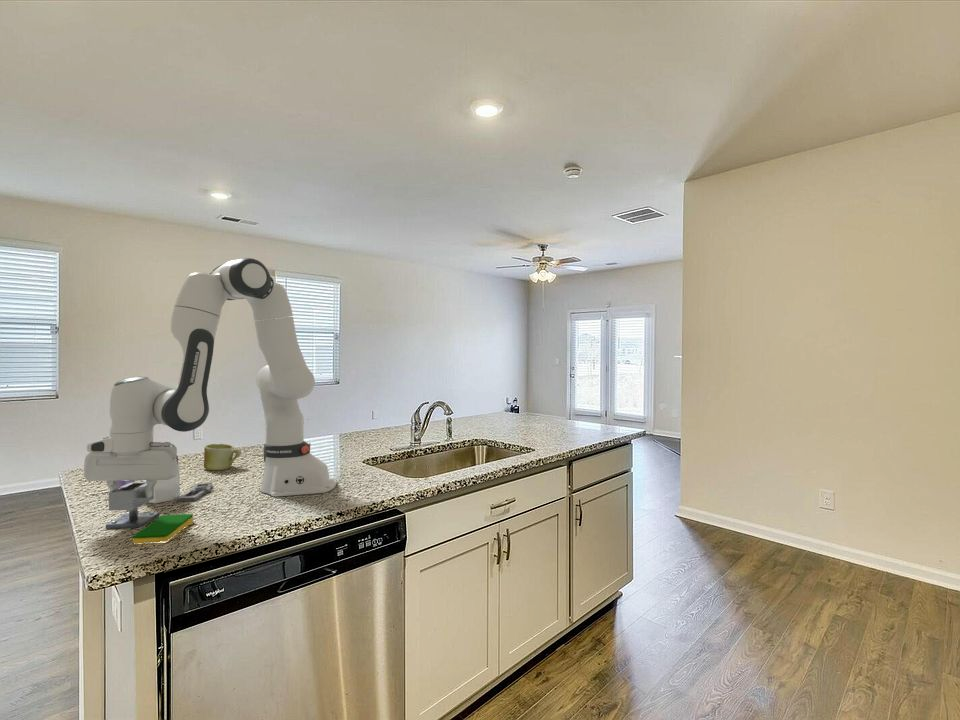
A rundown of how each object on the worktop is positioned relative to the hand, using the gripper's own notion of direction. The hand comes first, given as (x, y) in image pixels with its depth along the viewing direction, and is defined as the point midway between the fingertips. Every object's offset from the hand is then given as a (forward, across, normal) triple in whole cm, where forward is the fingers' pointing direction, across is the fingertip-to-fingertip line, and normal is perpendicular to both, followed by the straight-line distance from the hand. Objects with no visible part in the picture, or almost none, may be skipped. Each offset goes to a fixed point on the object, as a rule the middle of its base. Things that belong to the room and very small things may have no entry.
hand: (132, 497), depth 121 cm
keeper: (+6, 0, 0) cm, 6 cm away
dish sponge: (+7, -11, +8) cm, 15 cm away
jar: (+6, +3, -19) cm, 20 cm away
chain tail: (+6, -5, -24) cm, 25 cm away
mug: (+6, 0, -54) cm, 54 cm away
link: (+2, 0, 0) cm, 2 cm away
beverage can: (+6, +18, -27) cm, 33 cm away
